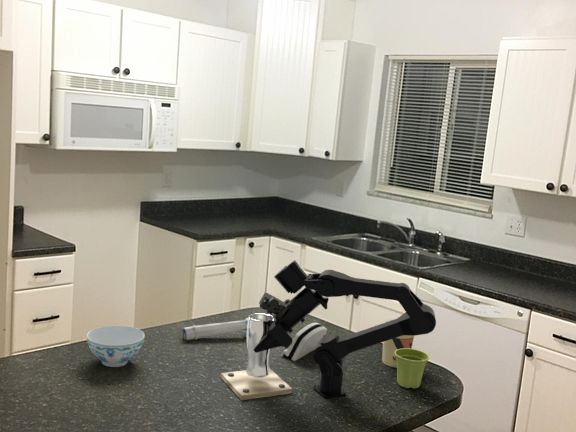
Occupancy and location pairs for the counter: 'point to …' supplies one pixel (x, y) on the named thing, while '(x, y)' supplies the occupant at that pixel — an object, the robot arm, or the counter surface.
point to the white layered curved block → (305, 341)
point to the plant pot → (410, 367)
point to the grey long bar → (214, 329)
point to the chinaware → (115, 344)
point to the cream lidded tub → (395, 348)
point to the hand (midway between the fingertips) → (254, 346)
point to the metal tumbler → (254, 335)
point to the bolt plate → (255, 385)
